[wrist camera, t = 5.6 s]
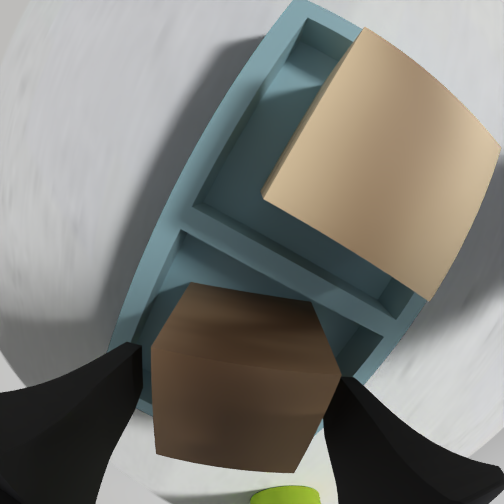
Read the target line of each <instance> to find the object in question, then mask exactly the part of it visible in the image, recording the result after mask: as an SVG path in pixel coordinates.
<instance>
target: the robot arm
mask: <svg viewBox="0 0 504 504" xmlns="http://www.w3.org/2000/svg"><path fill="white" fill-rule="evenodd" d="M142 389H143V368H142V345H138V344H134V343H130V342H125V343H123V344H121V345H120V346H118V347H116V348H115V349H113V350H111V351H109V352H108V353H106V354H104V355H103V356H101V357H99V358H97V359H95V360H94V361H92V362H90V363H88V364H86V365H84V366H82V367H80V368H78V369H76V370H74V371H72V372H70V373H68V374H66V375H64V376H61V377H59V378H56V379H54V380H51V381H48V382H45V383H42V384H39V385H36V386H31V387H27V388H24V389H19V390H15V391H9V392H2V393H0V504H95V503H96V499H97V495H98V492H99V489H100V485H101V482H102V479H103V476H104V473H105V470H106V467H107V464H108V462H109V459H110V457H111V455H112V452H113V450H114V448H115V446H116V445H117V443H118V441H119V439H120V437H121V435H122V433H123V431H124V429H125V428H126V426H127V424H128V422H129V420H130V418H131V416H132V414H133V412H134V410H135V408H136V406H137V403H138V400H139V398H140V395H141V392H142ZM323 426H324V435H325V440H326V444H327V448H328V453H329V457H330V461H331V465H332V469H333V473H334V477H335V481H336V486H337V493H338V503H339V504H489V503H490V502H491V501H492V500H493V499H494V498H496V497H497V496H498V495H499V494H500V493H501V492H502V491H503V490H504V473H503V472H502V470H501V468H499V466H495V465H490V464H486V463H482V462H478V461H474V460H471V459H469V458H466V457H463V456H460V455H458V454H456V453H453V452H451V451H449V450H447V449H445V448H443V447H441V446H439V445H437V444H435V443H434V442H432V441H430V440H428V439H427V438H425V437H424V436H422V435H421V434H419V433H418V432H416V431H415V430H413V429H412V428H411V427H409V426H408V425H407V424H406V423H404V422H403V421H402V420H401V419H399V418H398V417H397V416H396V415H395V414H393V413H392V412H391V411H390V410H389V409H388V408H387V407H386V406H385V405H383V404H382V403H381V402H380V401H379V400H378V399H377V398H376V397H375V396H374V395H373V394H372V393H371V392H370V391H369V390H368V389H367V388H365V387H364V386H363V385H362V384H361V383H360V382H359V381H358V380H357V379H356V378H354V377H341V378H340V380H339V383H338V385H337V388H336V390H335V392H334V394H333V397H332V399H331V401H330V403H329V406H328V408H327V410H326V412H325V414H324V416H323Z"/></svg>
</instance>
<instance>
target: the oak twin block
mask: <svg viewBox="0 0 504 504" xmlns="http://www.w3.org/2000/svg"><path fill="white" fill-rule="evenodd" d="M500 151H501V147H500V145H499V144H498V143H497V142H496V140H495V139H494V138H493V137H492V135H491V134H490V133H489V132H488V131H487V130H486V128H485V127H484V126H483V125H482V124H481V123H480V122H479V120H478V119H477V118H476V117H475V116H474V115H473V114H472V113H471V112H470V111H469V110H468V109H467V108H466V107H465V106H464V105H463V104H462V103H461V102H460V101H459V100H458V99H457V98H456V97H455V96H454V95H453V94H452V93H451V92H450V91H449V90H448V89H447V88H446V87H445V86H444V85H442V84H441V83H440V82H439V81H438V80H437V79H436V78H435V77H433V76H432V75H431V74H430V73H429V72H427V71H426V70H425V69H424V68H423V67H421V66H420V65H419V64H418V63H416V62H415V61H414V60H413V59H411V58H410V57H409V56H407V55H406V54H405V53H403V52H402V51H401V50H399V49H398V48H396V47H395V46H394V45H392V44H391V43H389V42H388V41H386V40H385V39H383V38H382V37H380V36H379V35H377V34H376V33H374V32H373V31H371V30H369V29H368V28H366V27H364V28H363V30H362V31H361V32H360V34H359V35H358V36H357V38H356V39H355V40H354V42H353V43H352V44H351V46H350V47H349V48H348V50H347V51H346V52H345V54H344V55H343V57H342V58H341V59H340V61H339V62H338V63H337V65H336V66H335V68H334V69H333V70H332V72H331V73H330V75H329V76H328V77H327V79H326V80H325V82H324V83H323V84H322V86H321V88H320V89H319V91H318V93H317V94H316V96H315V98H314V99H313V101H312V103H311V104H310V106H309V108H308V109H307V111H306V113H305V115H304V116H303V118H302V120H301V121H300V123H299V125H298V126H297V128H296V130H295V132H294V133H293V135H292V137H291V138H290V140H289V142H288V144H287V145H286V147H285V149H284V150H283V152H282V154H281V156H280V157H279V159H278V161H277V163H276V164H275V166H274V168H273V170H272V171H271V173H270V175H269V177H268V178H267V180H266V182H265V184H264V185H263V187H262V189H261V191H260V192H261V195H262V197H263V199H264V200H266V201H268V202H270V203H271V204H273V205H275V206H277V207H278V208H280V209H282V210H284V211H285V212H287V213H289V214H291V215H292V216H294V217H296V218H298V219H299V220H301V221H303V222H304V223H306V224H308V225H310V226H311V227H313V228H315V229H316V230H318V231H320V232H321V233H323V234H325V235H326V236H328V237H330V238H331V239H333V240H335V241H336V242H338V243H339V244H341V245H343V246H344V247H346V248H348V249H349V250H351V251H352V252H354V253H356V254H357V255H359V256H360V257H362V258H364V259H365V260H367V261H368V262H370V263H372V264H373V265H375V266H376V267H378V268H379V269H381V270H382V271H384V272H386V273H387V274H389V275H390V276H392V277H393V278H395V279H396V280H398V281H399V282H401V283H402V284H404V285H405V286H407V287H408V288H410V289H411V290H413V291H414V292H416V293H417V294H419V295H420V296H422V297H423V298H425V299H426V300H427V301H429V302H430V301H431V299H432V297H433V296H434V294H435V293H436V291H437V289H438V288H439V286H440V284H441V283H442V281H443V279H444V278H445V276H446V274H447V272H448V271H449V269H450V267H451V265H452V263H453V262H454V260H455V258H456V256H457V254H458V252H459V250H460V248H461V246H462V244H463V242H464V240H465V238H466V236H467V234H468V232H469V230H470V228H471V226H472V224H473V222H474V219H475V217H476V215H477V213H478V210H479V208H480V206H481V203H482V201H483V198H484V196H485V193H486V191H487V188H488V186H489V183H490V180H491V178H492V175H493V172H494V169H495V166H496V163H497V160H498V157H499V154H500Z"/></svg>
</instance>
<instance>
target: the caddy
mask: <svg viewBox="0 0 504 504" xmlns="http://www.w3.org/2000/svg"><path fill="white" fill-rule="evenodd" d="M362 30H363V29H361V28H359V27H358V26H356V25H354V24H352V23H351V22H349V21H347V20H345V19H343V18H342V17H340V16H338V15H336V14H334V13H332V12H330V11H328V10H326V9H324V8H322V7H320V6H318V5H316V4H314V3H312V2H310V1H308V0H293V1H292V2H291V3H290V5H289V6H288V7H287V8H286V10H285V11H284V12H283V13H282V15H281V16H280V17H279V19H278V20H277V21H276V23H275V24H274V25H273V27H272V28H271V29H270V31H269V32H268V33H267V35H266V36H265V37H264V39H263V40H262V42H261V43H260V44H259V46H258V47H257V49H256V50H255V51H254V53H253V54H252V56H251V57H250V59H249V60H248V62H247V63H246V64H245V66H244V67H243V69H242V70H241V72H240V73H239V75H238V77H237V78H236V80H235V81H234V83H233V84H232V86H231V87H230V89H229V91H228V92H227V94H226V95H225V97H224V99H223V100H222V102H221V103H220V105H219V107H218V108H217V110H216V112H215V113H214V115H213V117H212V118H211V120H210V122H209V123H208V125H207V127H206V129H205V130H204V132H203V134H202V136H201V137H200V139H199V141H198V143H197V145H196V146H195V148H194V150H193V152H192V154H191V156H190V157H189V159H188V161H187V163H186V165H185V167H184V169H183V171H182V173H181V175H180V176H179V178H178V180H177V182H176V184H175V186H174V188H173V190H172V192H171V194H170V196H169V198H168V201H167V203H166V205H165V207H164V209H163V211H162V213H161V215H160V217H159V219H158V222H157V224H156V226H155V228H154V230H153V233H152V235H151V237H150V239H149V242H148V244H147V246H146V249H145V251H144V253H143V256H142V258H141V260H140V263H139V265H138V268H137V270H136V273H135V275H134V278H133V280H132V283H131V285H130V288H129V290H128V293H127V296H126V298H125V301H124V304H123V306H122V309H121V312H120V315H119V317H118V320H117V323H116V326H115V329H114V332H113V335H112V338H111V341H110V344H109V347H108V350H107V353H108V352H109V351H111V350H113V349H115V348H116V347H118V346H120V345H121V344H123V343H125V342H130V343H134V344H138V345H142V368H143V389H142V392H141V395H140V398H139V400H138V403H137V406H136V408H137V409H139V410H140V411H142V412H144V413H146V414H148V415H150V416H152V417H153V407H152V383H151V346H152V344H153V343H154V341H155V339H156V338H157V336H158V334H159V333H160V331H161V329H162V328H163V326H164V324H165V323H166V321H167V319H168V318H169V316H170V315H171V313H172V311H173V310H174V308H175V306H176V305H177V303H178V302H179V300H180V298H181V297H182V295H183V294H184V292H185V290H186V289H187V287H188V286H189V284H190V282H194V283H200V284H205V285H211V286H216V287H222V288H228V289H233V290H239V291H245V292H251V293H257V294H264V295H270V296H276V297H283V298H289V299H296V300H303V301H310V302H311V303H312V305H313V307H314V310H315V312H316V314H317V317H318V319H319V321H320V324H321V326H322V328H323V331H324V333H325V335H326V338H327V340H328V343H329V345H330V347H331V350H332V352H333V355H334V357H335V360H336V362H337V364H338V367H339V369H340V372H341V374H342V376H341V377H354V378H356V379H357V380H358V381H359V382H360V383H361V384H362V385H364V384H365V383H366V382H367V381H368V379H369V378H370V377H371V376H372V375H373V374H374V372H375V371H376V370H377V369H378V367H379V366H380V365H381V364H382V363H383V361H384V360H385V359H386V358H387V356H388V355H389V354H390V352H391V351H392V350H393V349H394V347H395V346H396V345H397V343H398V342H399V341H400V339H401V338H402V336H403V335H404V334H405V332H406V331H407V330H408V328H409V327H410V325H411V324H412V322H413V321H414V320H415V318H416V317H417V315H418V314H419V312H420V311H421V309H422V308H423V306H424V305H425V303H426V301H427V300H426V299H425V298H423V297H422V296H420V295H419V294H417V293H416V292H414V291H413V290H411V289H410V288H408V287H407V286H405V285H404V284H402V283H401V282H399V281H398V280H396V279H395V278H393V277H392V276H390V275H389V274H387V273H386V272H384V271H382V270H381V269H379V268H378V267H376V266H375V265H373V264H372V263H370V262H368V261H367V260H365V259H364V258H362V257H360V256H359V255H357V254H356V253H354V252H352V251H351V250H349V249H348V248H346V247H344V246H343V245H341V244H339V243H338V242H336V241H335V240H333V239H331V238H330V237H328V236H326V235H325V234H323V233H321V232H320V231H318V230H316V229H315V228H313V227H311V226H310V225H308V224H306V223H304V222H303V221H301V220H299V219H298V218H296V217H294V216H292V215H291V214H289V213H287V212H285V211H284V210H282V209H280V208H278V207H277V206H275V205H273V204H271V203H270V202H268V201H266V200H264V199H263V197H262V195H261V192H260V191H261V189H262V187H263V185H264V184H265V182H266V180H267V178H268V177H269V175H270V173H271V171H272V170H273V168H274V166H275V164H276V163H277V161H278V159H279V157H280V156H281V154H282V152H283V150H284V149H285V147H286V145H287V144H288V142H289V140H290V138H291V137H292V135H293V133H294V132H295V130H296V128H297V126H298V125H299V123H300V121H301V120H302V118H303V116H304V115H305V113H306V111H307V109H308V108H309V106H310V104H311V103H312V101H313V99H314V98H315V96H316V94H317V93H318V91H319V89H320V88H321V86H322V84H323V83H324V82H325V80H326V79H327V77H328V76H329V75H330V73H331V72H332V70H333V69H334V68H335V66H336V65H337V63H338V62H339V61H340V59H341V58H342V57H343V55H344V54H345V52H346V51H347V50H348V48H349V47H350V46H351V44H352V43H353V42H354V40H355V39H356V38H357V36H358V35H359V34H360V32H361V31H362ZM323 427H324V426H323V419H322V421H321V423H320V425H319V427H318V429H317V431H316V433H315V435H316V434H317V433H318V432H319V431H320V430H321V429H322V428H323ZM315 435H314V436H315Z"/></svg>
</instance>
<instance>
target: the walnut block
mask: <svg viewBox="0 0 504 504" xmlns="http://www.w3.org/2000/svg"><path fill="white" fill-rule="evenodd" d="M341 376H342V374H341V372H340V369H339V367H338V364H337V362H336V360H335V357H334V355H333V352H332V350H331V347H330V345H329V343H328V340H327V338H326V335H325V333H324V331H323V328H322V326H321V324H320V321H319V319H318V317H317V314H316V312H315V310H314V307H313V305H312V303H311V302H310V301H303V300H296V299H289V298H283V297H276V296H270V295H264V294H257V293H251V292H245V291H239V290H233V289H228V288H222V287H216V286H211V285H205V284H200V283H194V282H190V284H189V286H188V287H187V289H186V290H185V292H184V294H183V295H182V297H181V298H180V300H179V302H178V303H177V305H176V306H175V308H174V310H173V311H172V313H171V315H170V316H169V318H168V319H167V321H166V323H165V324H164V326H163V328H162V329H161V331H160V333H159V334H158V336H157V338H156V339H155V341H154V343H153V344H152V346H151V383H152V407H153V423H154V436H155V447H156V454H158V455H162V456H166V457H170V458H174V459H179V460H183V461H188V462H193V463H198V464H204V465H210V466H216V467H223V468H230V469H238V470H248V471H259V472H275V473H294V472H295V470H296V469H297V467H298V465H299V463H300V461H301V460H302V458H303V456H304V454H305V452H306V450H307V448H308V447H309V445H310V443H311V441H312V439H313V437H314V435H315V433H316V431H317V429H318V427H319V425H320V423H321V421H322V419H323V416H324V414H325V412H326V410H327V408H328V406H329V403H330V401H331V399H332V397H333V394H334V392H335V390H336V388H337V385H338V383H339V380H340V378H341Z"/></svg>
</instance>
